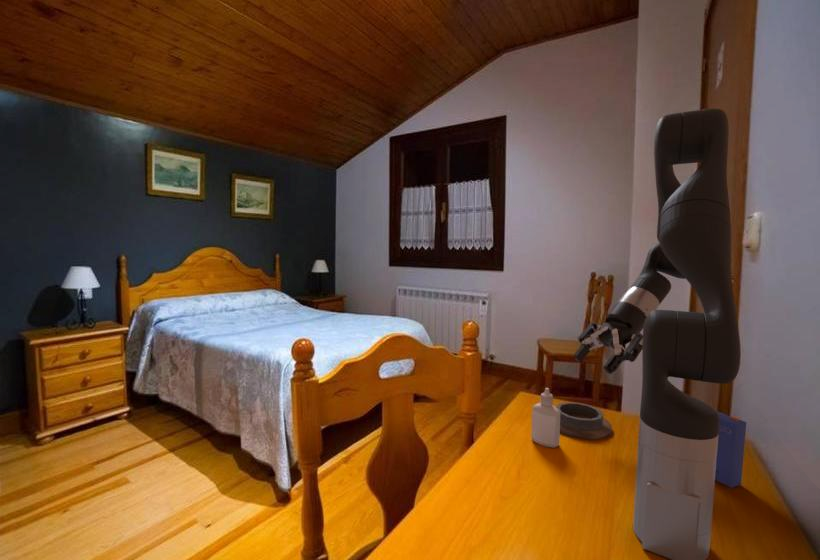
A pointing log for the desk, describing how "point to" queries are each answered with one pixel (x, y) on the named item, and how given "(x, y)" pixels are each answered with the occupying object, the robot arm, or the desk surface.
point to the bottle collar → (583, 421)
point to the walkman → (730, 450)
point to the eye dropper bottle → (546, 421)
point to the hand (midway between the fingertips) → (591, 365)
